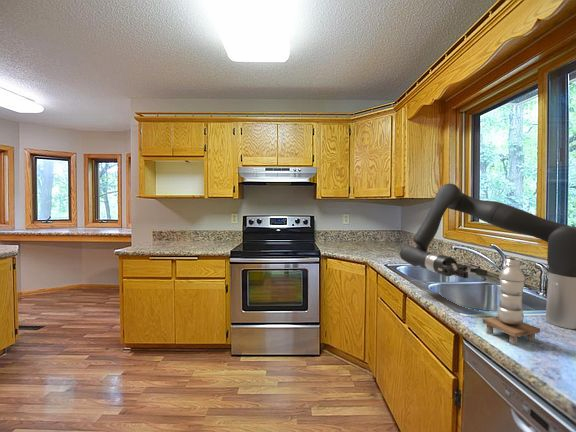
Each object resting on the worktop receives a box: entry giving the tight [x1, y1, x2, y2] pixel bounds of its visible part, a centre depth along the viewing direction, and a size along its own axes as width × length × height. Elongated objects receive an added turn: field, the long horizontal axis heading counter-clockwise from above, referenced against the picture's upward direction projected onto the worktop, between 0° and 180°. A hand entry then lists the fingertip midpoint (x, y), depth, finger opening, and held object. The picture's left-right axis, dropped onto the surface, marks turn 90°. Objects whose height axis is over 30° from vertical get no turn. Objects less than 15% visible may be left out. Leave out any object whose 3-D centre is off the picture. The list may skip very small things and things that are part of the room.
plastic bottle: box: [496, 257, 526, 325], centre depth 89 cm, size 6×7×20 cm
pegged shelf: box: [482, 316, 541, 347], centre depth 90 cm, size 10×10×4 cm
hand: (477, 274), depth 100 cm, fingers open, 8 cm apart
